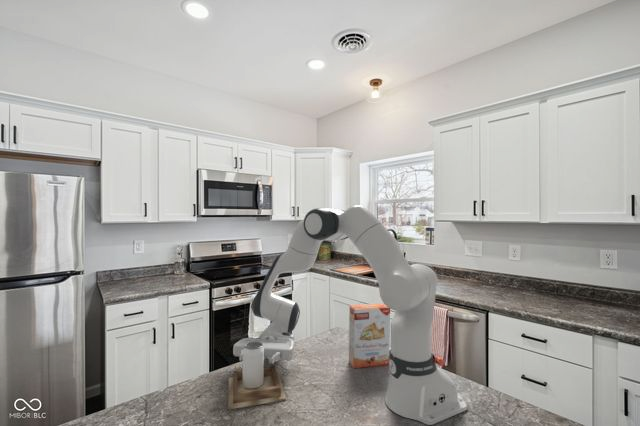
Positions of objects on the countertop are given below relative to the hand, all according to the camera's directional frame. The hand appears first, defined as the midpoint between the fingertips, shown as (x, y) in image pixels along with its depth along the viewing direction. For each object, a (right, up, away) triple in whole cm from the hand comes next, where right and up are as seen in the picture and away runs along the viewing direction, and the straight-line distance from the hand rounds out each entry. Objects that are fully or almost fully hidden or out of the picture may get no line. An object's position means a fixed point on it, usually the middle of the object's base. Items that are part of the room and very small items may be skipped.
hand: (256, 360), depth 92 cm
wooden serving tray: (0, -9, 0) cm, 9 cm away
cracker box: (+38, -10, +17) cm, 42 cm away
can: (-1, -8, +1) cm, 9 cm away
